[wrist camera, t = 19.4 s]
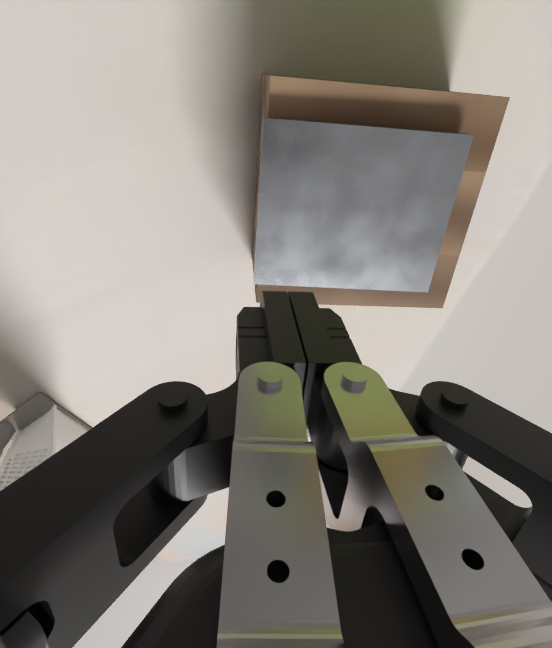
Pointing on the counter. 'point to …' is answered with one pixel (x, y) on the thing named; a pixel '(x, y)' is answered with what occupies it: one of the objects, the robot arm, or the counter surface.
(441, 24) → the counter surface
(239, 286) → the counter surface
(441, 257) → the hole block
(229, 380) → the counter surface
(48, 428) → the skyscraper
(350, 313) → the counter surface
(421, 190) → the panel
